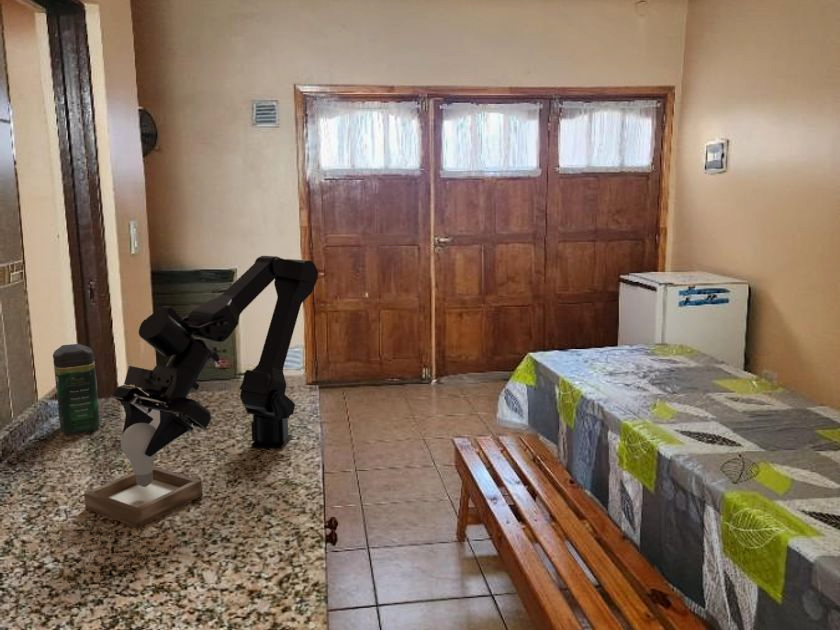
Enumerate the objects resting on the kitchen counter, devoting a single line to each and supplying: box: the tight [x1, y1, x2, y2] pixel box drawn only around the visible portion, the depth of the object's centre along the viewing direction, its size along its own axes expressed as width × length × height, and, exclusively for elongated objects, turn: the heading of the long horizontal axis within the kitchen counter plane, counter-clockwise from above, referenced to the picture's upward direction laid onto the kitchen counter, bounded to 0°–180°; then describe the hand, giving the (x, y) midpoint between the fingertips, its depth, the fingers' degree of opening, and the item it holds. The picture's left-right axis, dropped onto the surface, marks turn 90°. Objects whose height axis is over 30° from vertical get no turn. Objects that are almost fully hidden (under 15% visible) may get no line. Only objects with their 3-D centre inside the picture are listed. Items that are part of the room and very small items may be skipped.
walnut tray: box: [83, 465, 203, 529], centre depth 114 cm, size 13×13×3 cm
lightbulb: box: [119, 423, 158, 487], centre depth 112 cm, size 6×6×11 cm
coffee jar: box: [52, 343, 101, 435], centre depth 148 cm, size 10×8×19 cm
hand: (134, 452), depth 111 cm, fingers closed on lightbulb, 6 cm apart
